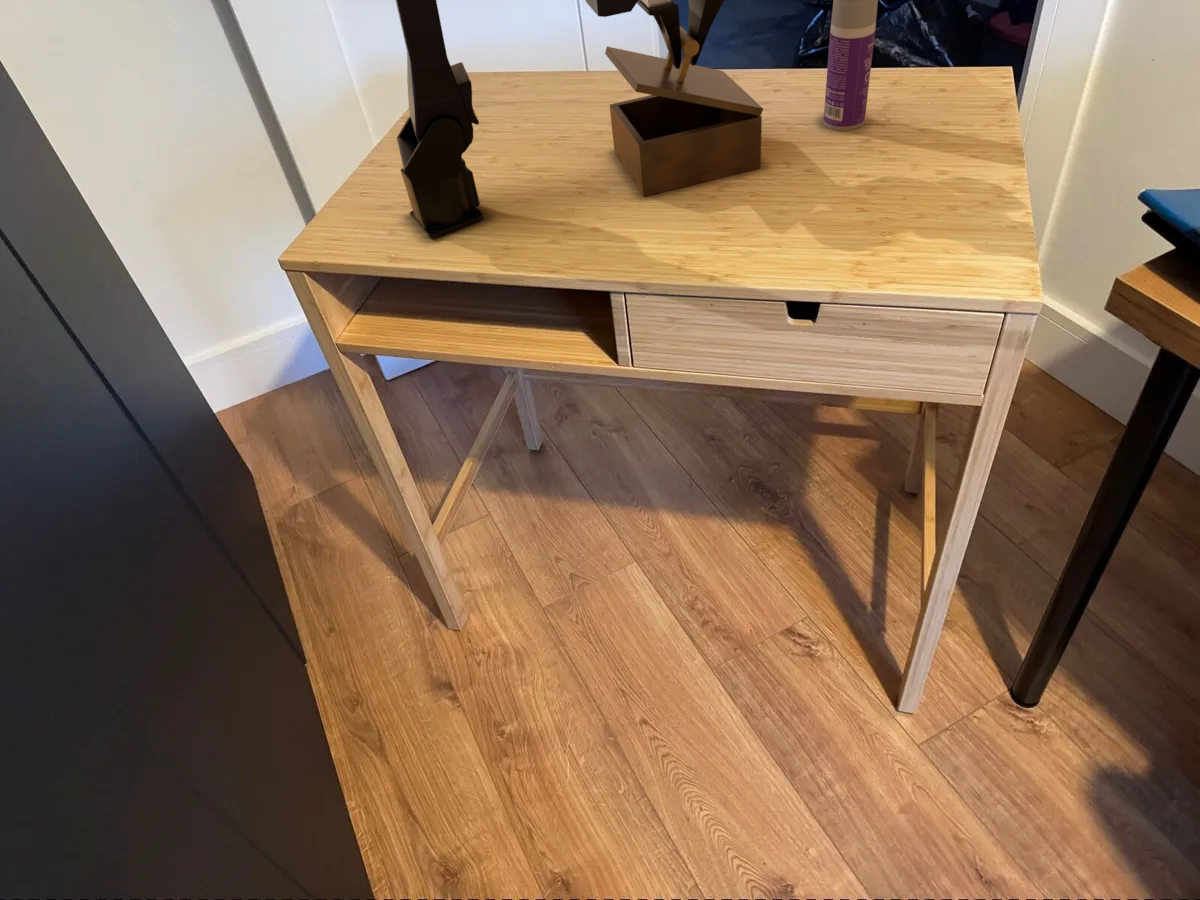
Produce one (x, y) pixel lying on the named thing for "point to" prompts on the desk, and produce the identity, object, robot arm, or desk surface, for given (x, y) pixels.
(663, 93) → the box door
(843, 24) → the container
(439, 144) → the robot arm
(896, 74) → the desk surface
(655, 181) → the compartment
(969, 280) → the desk surface
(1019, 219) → the desk surface
